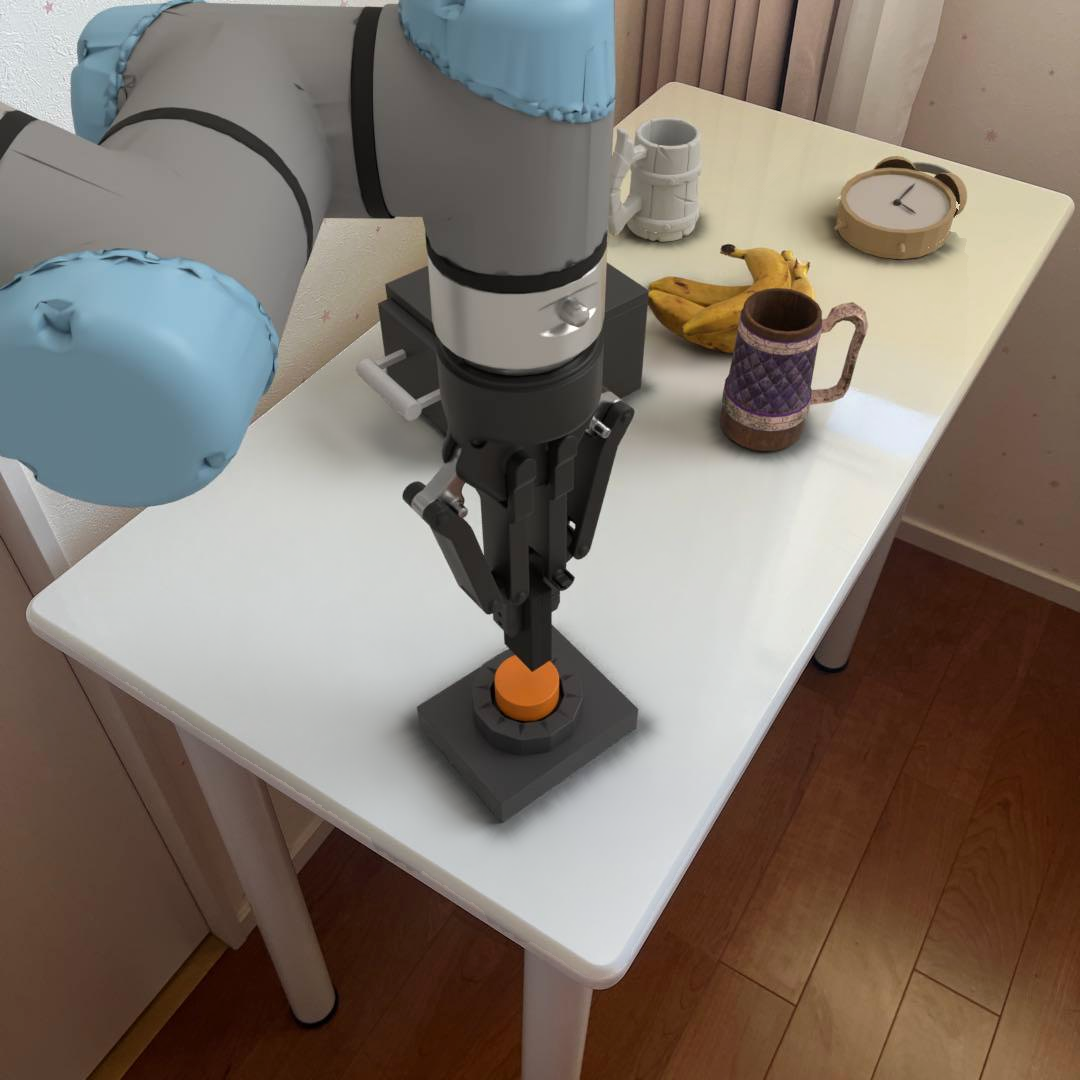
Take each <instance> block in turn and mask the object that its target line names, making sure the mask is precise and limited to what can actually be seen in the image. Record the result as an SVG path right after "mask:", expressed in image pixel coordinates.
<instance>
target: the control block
mask: <svg viewBox="0 0 1080 1080" xmlns="http://www.w3.org/2000/svg"><path fill="white" fill-rule="evenodd" d="M514 655H515V654H514V653H513V652H512V651H511V650H510V649H509V648H508V649H505V650H503V651H502V652H500V653H499V654H497V655H495V656H493V657H492V658H491V659H489V660H487V661H486V662H484V663H483V664H481V666H479V667H477V668H476V669H474V670H473V671H472V672H470V673H468V674H466V675H465V676H464V677H461V678H460V679H459V680H457V681H455V682H453V683H452V684H451V685H449V686H447V687H446V688H444V689H443V690H441V691H439V692H438V693H436V694H435V695H433V696H431V697H430V698H428V699H427V700H425V701H423V702H422V703H420V704H418V705H417V706H416V713H417V718H418V719H417V720H418V725H419V728H421V730H422V731H423V733H425V735H427V737H428V738H429V739H430V740H431V741H432V742H433V744H434V745H435V746H436V747H437V748H438V750H439V751H440V752H441V753H442V754H443V756H444V757H445V758H446V759H447V760H448V761H449V763H450V764H451V765H452V766H453V767H454V769H455V770H456V771H457V772H458V773H459V774H460V775H461V777H462V778H463V779H464V780H465V782H467V784H468V785H469V786H470V787H471V788H472V789H473V791H474V792H475V793H476V794H477V796H478V797H479V798H480V799H481V800H482V801H483V802H484V804H485V805H486V806H487V808H489V810H490V811H491V812H492V813H493V815H495V816H496V818H497V819H498V820H499V821H500V822H501V823H502V824H503V823H505V822H506V821H508V820H509V819H510V818H512V817H513V816H514V815H516V814H517V813H519V812H520V811H522V810H523V809H525V808H526V807H527V806H529V805H530V804H531V803H533V802H534V801H536V800H537V799H538V798H540V797H541V796H543V795H544V794H545V793H547V792H549V790H552V788H554V787H555V786H556V785H558V784H560V783H561V782H562V781H564V780H565V779H566V778H568V777H570V776H571V775H573V773H575V772H576V771H578V770H579V769H581V768H582V767H584V766H585V765H587V764H588V763H590V761H592V760H594V759H595V758H596V757H597V756H599V755H600V754H602V753H603V752H605V751H607V749H609V748H610V747H612V746H613V745H615V744H616V743H617V742H619V741H620V740H622V739H623V738H624V737H626V736H627V735H628V734H630V733H632V732H633V731H634V730H636V729H637V728H638V727H637V726H638V717H639V708H638V707H637V706H636V705H635V704H634V703H633V702H632V701H631V700H630V699H629V698H628V697H627V696H626V695H625V694H624V693H623V692H622V691H621V690H619V688H618V687H617V686H615V684H614V683H612V682H611V681H610V680H609V678H607V676H606V675H604V674H603V673H602V672H601V671H600V670H599V669H598V668H597V667H596V666H595V664H593V663H592V662H591V661H590V660H589V659H588V658H587V657H586V656H585V655H584V654H583V653H582V652H581V651H580V650H579V649H578V648H577V647H576V646H575V645H573V644H572V643H571V641H569V639H567V637H566V636H565V635H563V634H562V633H561V632H560V631H559V630H558V629H557V628H556V627H555V626H554V625H553V624H552V660H550V662H551V663H552V664H553V665H554V666H555V668H556V669H557V672H558V675H559V699H558V702H557V705H556V706H555V708H554V709H553V711H552V712H551V713H549V714H548V715H547V716H545V717H543V718H541V719H539V720H535V721H519V720H515V719H512V718H510V717H508V716H507V715H506V714H504V713H503V712H502V711H501V709H500V708H499V707H498V705H497V702H496V698H495V682H494V679H495V674H496V671H497V669H498V667H499V666H500V665H501V664H502V663H503V662H504V661H505V660H506V659H508V658H510V657H512V656H514Z"/></svg>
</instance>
